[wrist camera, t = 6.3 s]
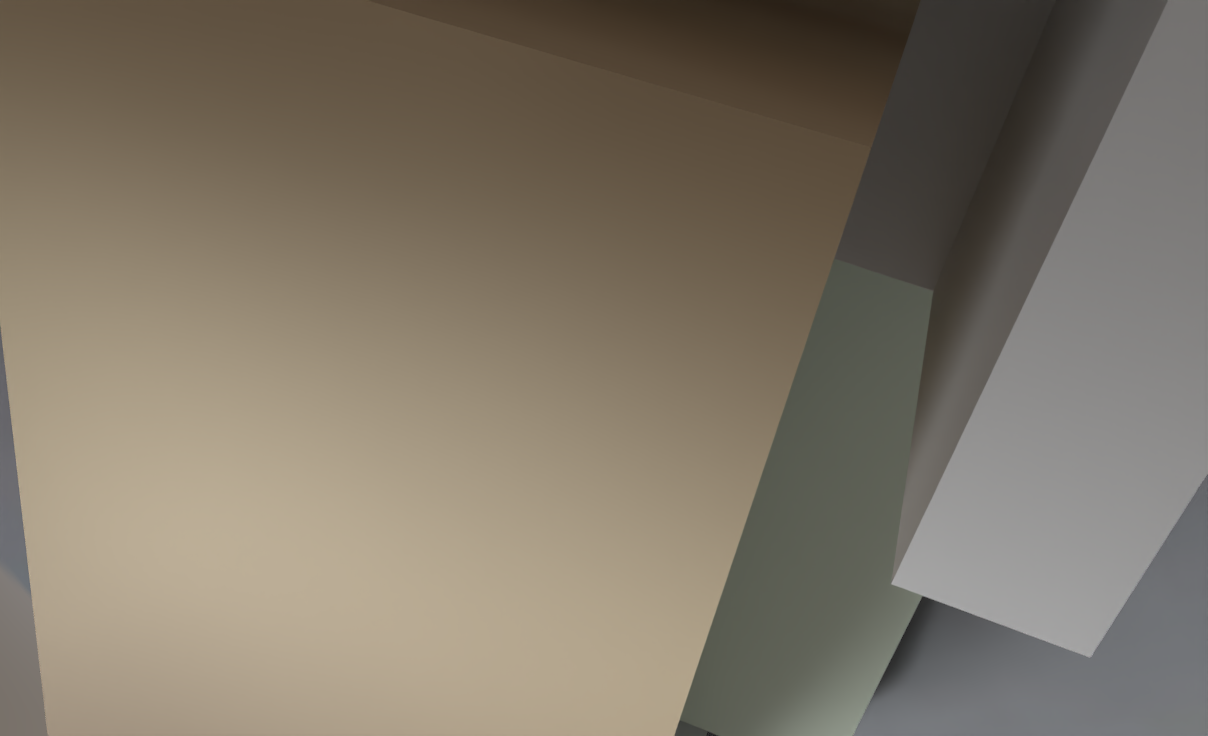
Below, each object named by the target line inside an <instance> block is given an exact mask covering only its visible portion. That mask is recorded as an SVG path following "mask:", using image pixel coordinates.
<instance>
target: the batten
mask: <svg viewBox="0 0 1208 736" xmlns="http://www.w3.org/2000/svg"><path fill="white" fill-rule="evenodd" d="M920 1H921V0H0V326H1V334H2V343H3V352H4V360H5V369H6V378H7V386H8V395H9V404H10V412H11V421H12V430H13V438H14V447H15V456H16V464H17V473H18V482H19V490H20V499H21V508H22V516H23V525H24V534H25V542H26V551H27V560H28V568H29V577H30V586H31V594H32V603H33V611H34V620H35V629H36V638H37V646H38V655H39V663H40V672H41V681H42V689H43V698H44V707H45V716H46V724H47V733H48V736H674V735H675V732H676V729H677V726H678V723H679V720H680V717H681V714H682V711H683V708H684V705H685V702H686V699H687V696H688V693H689V690H690V687H691V684H692V681H693V678H694V675H695V672H696V669H697V666H698V663H699V660H700V657H701V654H702V651H703V648H704V645H705V642H706V639H707V636H708V633H709V630H710V627H711V624H712V621H713V618H714V615H715V612H716V610H717V607H718V604H719V601H720V598H721V595H722V592H723V589H724V586H725V583H726V580H727V577H728V574H729V571H730V568H731V565H732V562H733V559H734V556H735V553H736V550H737V547H738V544H739V541H740V538H741V535H742V532H743V529H744V526H745V523H746V520H747V517H748V514H749V511H750V508H751V505H752V502H753V499H754V496H755V493H756V490H757V487H758V484H759V481H760V478H761V475H762V472H763V469H764V466H765V463H766V460H767V457H768V454H769V451H770V448H771V445H772V443H773V440H774V437H775V434H776V431H777V428H778V425H779V422H780V419H781V416H782V413H783V410H784V407H785V404H786V401H787V398H788V395H789V392H790V389H791V386H792V383H793V380H794V377H795V374H796V371H797V368H798V365H799V362H800V359H801V356H802V353H803V350H804V347H805V344H806V341H807V338H808V335H809V332H810V329H811V326H812V323H813V320H814V317H815V314H816V311H817V308H818V305H819V302H820V299H821V296H822V293H823V290H824V287H825V284H826V281H827V278H828V276H829V273H830V270H831V267H832V264H833V261H834V258H835V255H836V252H837V249H838V246H839V243H840V240H841V237H842V234H843V231H844V228H845V225H846V222H847V219H848V216H849V213H850V210H851V207H852V204H853V201H854V198H855V195H856V192H857V189H858V186H859V183H860V180H861V177H862V174H863V171H864V168H865V165H866V162H867V159H868V156H869V153H870V150H871V147H872V144H873V141H874V138H875V135H876V132H877V129H878V126H879V123H880V120H881V117H882V114H883V111H884V108H885V105H886V102H887V99H888V96H889V93H890V90H891V88H892V85H893V82H894V79H895V76H896V73H897V70H898V67H899V64H900V61H901V58H902V55H903V52H904V49H905V46H906V43H907V40H908V37H909V34H910V31H911V28H912V25H913V22H914V19H915V16H916V13H917V10H918V7H919V4H920Z"/></svg>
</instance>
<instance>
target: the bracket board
mask: <svg viewBox="0 0 1208 736" xmlns="http://www.w3.org/2000/svg"><path fill="white" fill-rule="evenodd" d="M1207 474H1208V0H921V1H920V4H919V7H918V10H917V13H916V16H915V19H914V22H913V25H912V28H911V31H910V34H909V37H908V40H907V43H906V46H905V49H904V52H903V55H902V58H901V61H900V64H899V67H898V70H897V73H896V76H895V79H894V82H893V85H892V88H891V90H890V93H889V96H888V99H887V102H886V105H885V108H884V111H883V114H882V117H881V120H880V123H879V126H878V129H877V132H876V135H875V138H874V141H873V144H872V147H871V150H870V153H869V156H868V159H867V162H866V165H865V168H864V171H863V174H862V177H861V180H860V183H859V186H858V189H857V192H856V195H855V198H854V201H853V204H852V207H851V210H850V213H849V216H848V219H847V222H846V225H845V228H844V231H843V234H842V237H841V240H840V243H839V246H838V249H837V252H836V255H835V258H834V261H833V264H832V267H831V270H830V273H829V276H828V278H827V281H826V284H825V287H824V290H823V293H822V296H821V299H820V302H819V305H818V308H817V311H816V314H815V317H814V320H813V323H812V326H811V329H810V332H809V335H808V338H807V341H806V344H805V347H804V350H803V353H802V356H801V359H800V362H799V365H798V368H797V371H796V374H795V377H794V380H793V383H792V386H791V389H790V392H789V395H788V398H787V401H786V404H785V407H784V410H783V413H782V416H781V419H780V422H779V425H778V428H777V431H776V434H775V437H774V440H773V443H772V445H771V448H770V451H769V454H768V457H767V460H766V463H765V466H764V469H763V472H762V475H761V478H760V481H759V484H758V487H757V490H756V493H755V496H754V499H753V502H752V505H751V508H750V511H749V514H748V517H747V520H746V523H745V526H744V529H743V532H742V535H741V538H740V541H739V544H738V547H737V550H736V553H735V556H734V559H733V562H732V565H731V568H730V571H729V574H728V577H727V580H726V583H725V586H724V589H723V592H722V595H721V598H720V601H719V604H718V607H717V610H716V612H715V615H714V618H713V621H712V624H711V627H710V630H709V633H708V636H707V639H706V642H705V645H704V648H703V651H702V654H701V657H700V660H699V663H698V666H697V669H696V672H695V675H694V678H693V681H692V684H691V687H690V690H689V693H688V696H687V699H686V702H685V705H684V708H683V711H682V714H681V717H680V720H679V723H678V726H677V729H676V732H675V735H674V736H706V735H707V732H711V733H713V734H716V735H718V736H853V734H854V732H855V730H856V728H857V726H858V724H859V722H860V720H861V718H862V716H863V714H864V712H865V710H866V708H867V706H868V704H869V702H870V700H871V698H872V696H873V694H874V692H875V690H876V688H877V686H878V684H879V682H880V680H881V678H882V676H883V674H884V672H885V670H886V668H887V666H888V664H889V662H890V660H891V658H892V656H893V654H894V652H895V650H896V648H897V646H898V644H899V642H900V640H901V638H902V636H903V634H904V632H905V630H906V628H907V626H908V624H909V622H910V620H911V618H912V616H913V614H914V612H915V610H916V608H917V606H918V604H919V602H920V600H921V598H922V596H925V597H927V598H930V599H933V600H936V601H938V602H941V603H944V604H946V605H949V606H952V607H955V608H957V609H960V610H963V611H965V612H968V613H971V614H974V615H976V616H979V617H982V618H984V619H987V620H990V621H992V622H995V623H998V624H1001V625H1003V626H1006V627H1009V628H1011V629H1014V630H1017V631H1020V632H1022V633H1025V634H1028V635H1030V636H1033V637H1036V638H1038V639H1041V640H1044V641H1047V642H1049V643H1052V644H1055V645H1057V646H1060V647H1063V648H1066V649H1068V650H1071V651H1074V652H1076V653H1079V654H1082V655H1084V656H1087V657H1091V656H1092V654H1093V653H1094V651H1095V650H1096V648H1097V646H1098V645H1099V643H1100V642H1101V640H1102V639H1103V637H1104V635H1105V634H1106V632H1107V631H1108V629H1109V628H1110V626H1111V624H1112V623H1113V621H1114V620H1115V618H1116V617H1117V615H1118V613H1119V612H1120V610H1121V609H1122V607H1123V606H1124V604H1125V603H1126V601H1127V599H1128V598H1129V596H1130V595H1131V593H1132V592H1133V590H1134V588H1135V587H1136V585H1137V584H1138V582H1139V581H1140V579H1141V577H1142V576H1143V574H1144V573H1145V571H1146V570H1147V568H1148V566H1149V565H1150V563H1151V562H1152V560H1153V559H1154V557H1155V555H1156V554H1157V552H1158V551H1159V549H1160V548H1161V546H1162V544H1163V543H1164V541H1165V540H1166V538H1167V537H1168V535H1169V533H1170V532H1171V530H1172V529H1173V527H1174V526H1175V524H1176V522H1177V521H1178V519H1179V518H1180V516H1181V515H1182V513H1183V511H1184V510H1185V508H1186V507H1187V505H1188V504H1189V502H1190V500H1191V499H1192V497H1193V496H1194V494H1195V493H1196V491H1197V489H1198V488H1199V486H1200V485H1201V483H1202V482H1203V480H1204V478H1205V477H1206V475H1207Z"/></svg>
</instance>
